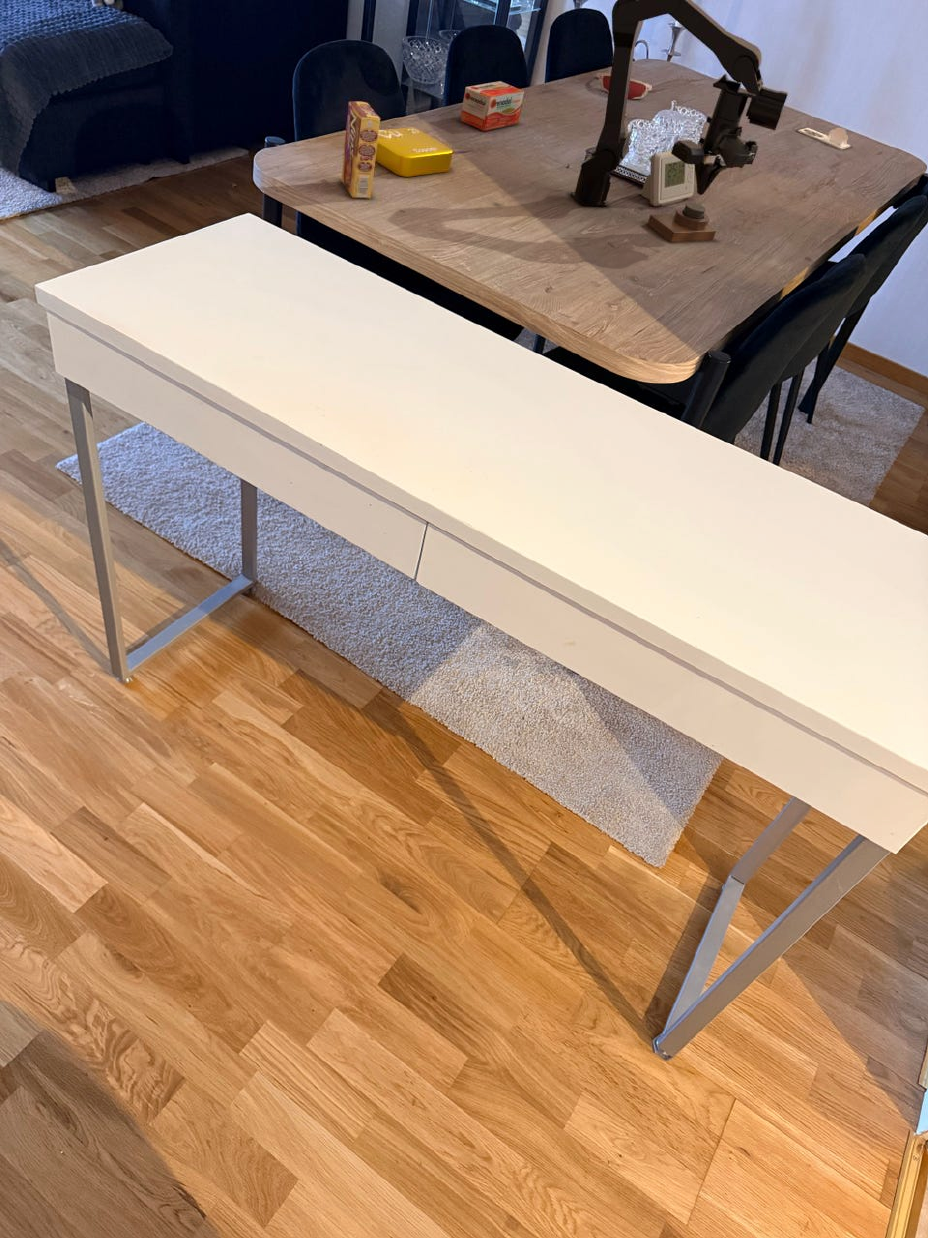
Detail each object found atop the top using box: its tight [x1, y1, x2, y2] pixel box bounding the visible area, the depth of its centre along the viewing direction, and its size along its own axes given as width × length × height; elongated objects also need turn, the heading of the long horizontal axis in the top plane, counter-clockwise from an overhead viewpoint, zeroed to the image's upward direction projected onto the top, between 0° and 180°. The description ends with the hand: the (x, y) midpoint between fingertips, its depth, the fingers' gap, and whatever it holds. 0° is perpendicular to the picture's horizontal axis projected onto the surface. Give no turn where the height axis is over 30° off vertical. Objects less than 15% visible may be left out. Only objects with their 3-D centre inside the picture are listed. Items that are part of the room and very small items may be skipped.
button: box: [683, 202, 706, 219], centre depth 201 cm, size 4×4×2 cm
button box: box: [647, 206, 717, 243], centre depth 202 cm, size 12×9×4 cm
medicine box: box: [460, 80, 525, 132], centre depth 231 cm, size 15×8×8 cm, turn 142°
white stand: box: [797, 127, 851, 150], centre depth 278 cm, size 15×7×4 cm, turn 46°
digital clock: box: [640, 148, 695, 207], centre depth 213 cm, size 16×9×11 cm, turn 123°
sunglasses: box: [595, 72, 653, 100], centre depth 278 cm, size 17×17×5 cm
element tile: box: [375, 126, 453, 178], centre depth 202 cm, size 15×15×5 cm
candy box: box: [341, 101, 381, 200], centre depth 182 cm, size 9×4×15 cm, turn 20°
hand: (699, 193), depth 198 cm, fingers closed
